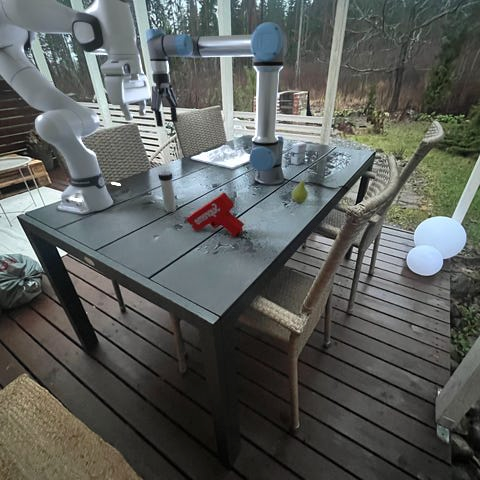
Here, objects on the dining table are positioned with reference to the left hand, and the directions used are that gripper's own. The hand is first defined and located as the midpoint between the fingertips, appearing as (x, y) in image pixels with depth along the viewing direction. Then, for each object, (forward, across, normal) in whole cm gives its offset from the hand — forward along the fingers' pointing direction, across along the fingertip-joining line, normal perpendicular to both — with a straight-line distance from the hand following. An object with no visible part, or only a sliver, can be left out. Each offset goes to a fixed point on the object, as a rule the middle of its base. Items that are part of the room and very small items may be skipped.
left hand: (136, 117), depth 87 cm
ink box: (+38, -84, +58) cm, 109 cm away
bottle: (+38, -10, +2) cm, 39 cm away
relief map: (+38, -87, +10) cm, 95 cm away
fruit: (+38, -25, +57) cm, 73 cm away
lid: (+22, -10, +2) cm, 24 cm away
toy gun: (+38, +5, +25) cm, 46 cm away
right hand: (+10, -46, -9) cm, 48 cm away
